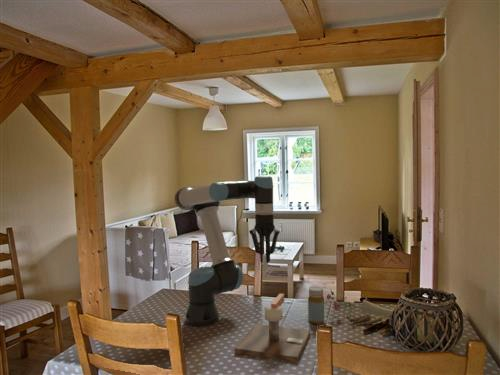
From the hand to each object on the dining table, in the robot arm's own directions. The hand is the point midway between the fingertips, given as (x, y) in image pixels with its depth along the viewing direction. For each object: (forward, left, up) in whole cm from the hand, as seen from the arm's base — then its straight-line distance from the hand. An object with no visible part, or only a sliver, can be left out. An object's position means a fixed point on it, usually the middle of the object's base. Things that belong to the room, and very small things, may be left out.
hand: (265, 269), depth 168 cm
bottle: (+18, +18, -27) cm, 37 cm away
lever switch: (+6, -4, -17) cm, 18 cm away
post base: (+6, -9, -27) cm, 29 cm away
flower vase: (+39, +26, -27) cm, 54 cm away
